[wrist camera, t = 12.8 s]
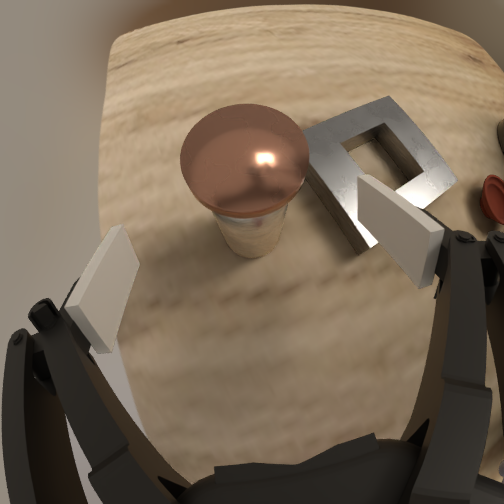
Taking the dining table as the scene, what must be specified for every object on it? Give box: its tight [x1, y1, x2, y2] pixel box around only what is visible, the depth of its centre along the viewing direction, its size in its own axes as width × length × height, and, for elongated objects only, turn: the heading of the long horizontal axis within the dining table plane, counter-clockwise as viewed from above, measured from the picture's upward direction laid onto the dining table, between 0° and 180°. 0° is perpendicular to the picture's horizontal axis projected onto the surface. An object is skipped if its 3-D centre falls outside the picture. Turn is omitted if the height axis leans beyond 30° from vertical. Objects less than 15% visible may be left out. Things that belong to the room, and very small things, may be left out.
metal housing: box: [302, 96, 458, 255], centre depth 24 cm, size 14×12×3 cm
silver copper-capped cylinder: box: [180, 104, 309, 258], centre depth 19 cm, size 6×6×13 cm
